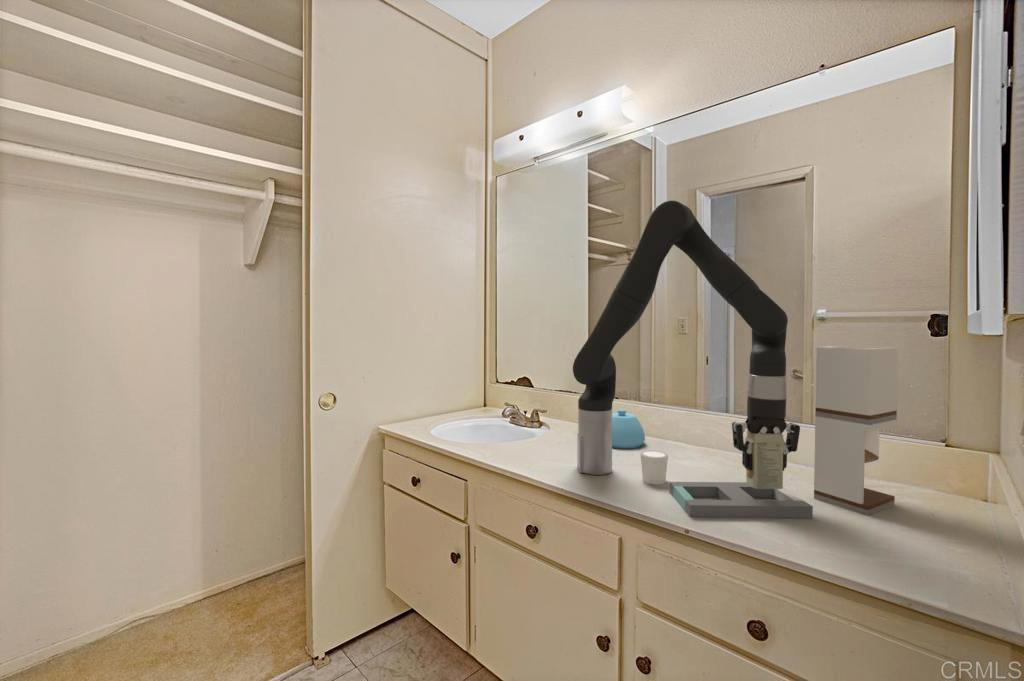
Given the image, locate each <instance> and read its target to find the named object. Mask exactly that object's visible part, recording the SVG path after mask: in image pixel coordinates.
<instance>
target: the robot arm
mask: <svg viewBox="0 0 1024 681" xmlns="http://www.w3.org/2000/svg"><path fill="white" fill-rule="evenodd" d="M674 246H675V247H676V248H678V249H680V251H682V252H683V253H684V254H685V255H686V256H687V257H688V258H689V259H690V260H691V261H692V262H693V263H694V264H695V265H696V267H697V268H698V269H699V271H700V272H701V273H702V275H703V276H704V277H705V279H706V281H707V282H708V283H709V284H710V285H711V287H712V288H713V289H714V290H715V291H716V292H717V293H718V295H720V296H721V297H722V298H723V299H724V300H725V301H726V303H728V304H729V305H730V306H731V307H732V308H733V309H735V311H736V312H737V313H738V314H739V315H740V317H741V318H742V319H743V321H745V322H746V324H747V325H748V327H750V328H751V351H750V354H749V373H748V380H747V381H748V382H747V389H746V393H747V394H746V395H747V399H746V400H747V401H746V414H747V415H746V416H747V418H746V420H745V421H744V422H736V421H733V422H732V423H731V430H732V441H733V447H734V448H735V449H737V450H738V451H741V452H742V459H741V460H742V461H741V463H742V466H743V467H744V468H745V470H746V471H747V470H752V463H753V454H751V453H752V451H753V444H754V440H752V439H750V438H749V436H748V435H747V434H746V436H745V441H744V432H745V431H746V430H748V431H749V432H751V433H752V434H753V433H757V434H765V433H774V434H782V435H783V432H786V440H785V439H784V438H783V472H784V471H785V469H786V468H787V466H788V454H789V453H792V452H794V453H795V452H797V450H798V445H799V439H800V432H801V426H800V425H798V424H797V423H793V422H789V423H788V422H786V416H787V386H788V385H787V379H786V378H787V376H786V375H787V356H786V342H787V341H786V340H787V329H788V322H789V321H788V320H789V319H788V315H787V313H786V311H785V310H784V309H783V308H781V307H780V305H778V304H777V303H776V302H775V301H774V300H773V299H772V298H771V297H770V296H769V295H767V294H766V293H765V292H764V291H763V290H761V288H760V287H759V286H758V284H757V283H756V282H755V281H754V279H752V277H750V275H748V274H747V273H746V272H745V270H743V269H742V268H741V267H740V266H739V265H738V264H737V263H736V262H735V261H734V260H733V259H732V258H731V257H730V256H729V255H727V254H726V253H725V251H723V250H722V249H721V248H720V247H719V246H718V245H717V244H716V243H715V242H714V240H712V239H711V237H710V236H709V235H708V234H707V232H706V231H705V230H704V228H703V226H702V225H701V224H700V222H699V221H698V219H697V217H696V216H695V215H694V212H693V211H692V209H691V208H690V207H688V206H687V205H685V204H683V203H682V202H680V201H678V200H671V199H670V200H664V201H663V202H660V203H659V204H658V205H657V206H656V207H654V209H653V210H652V211H651V213H650V215H649V217H648V219H647V222H646V224H645V227H644V230H643V232H642V233H641V237H640V240H639V242H638V244H637V247H636V248H635V251H634V253H633V255H632V257H631V258H630V260H629V261H628V263H627V265H626V267H625V268H624V271H623V273H622V274H621V276H620V278H619V280H618V282H617V284H616V285H615V287H614V288H613V291H612V293H611V295H610V297H609V299H608V301H607V304H605V305H606V306H605V307H604V309H603V311H602V312H601V315H600V316H599V318H598V320H597V322H596V324H595V327H594V328H593V330H592V331H591V333H590V335H589V337H588V338H587V340H586V341H585V343H584V344H583V345H582V347H581V349H580V350H579V352H578V353H577V355H576V357H575V358H574V361H573V364H572V373H573V376H574V379H575V380H576V381H577V382H578V383H579V384H581V385H585V389H584V391H583V393H582V394H581V395H580V396H579V398H578V399H577V400H578V402H577V404H578V405H577V407H578V409H577V411H578V415H577V416H578V418H577V420H578V423H577V426H578V428H577V430H578V431H577V432H578V433H577V437H576V442H577V445H576V446H577V449H576V450H577V451H576V452H577V454H576V456H577V457H576V458H577V462H576V464H577V469H578V472H579V473H580V474H586V475H592V476H593V475H595V476H600V475H601V476H603V475H608V474H610V473H612V472H613V447H612V413H613V402H614V400H615V396H616V386H617V385H616V383H617V366H616V365H617V364H616V361H615V359H614V357H613V355H612V354H611V353H612V351H613V350H614V348H615V346H616V345H617V344H618V343H619V341H620V340H621V339H622V338H623V337H624V336H625V335H627V334H628V332H629V331H630V330H631V329H632V328H633V327H634V326H636V324H637V322H638V321H639V320H640V318H641V317H642V315H643V313H645V312H644V311H645V310H646V308H647V307H648V304H650V301H651V299H652V297H653V294H654V291H655V288H656V285H657V282H658V281H657V280H658V278H659V272H660V270H661V267H662V265H663V263H664V261H665V259H666V257H667V255H668V253H669V252H670V250H671V249H672V248H673V247H674ZM749 442H750V443H749Z"/></svg>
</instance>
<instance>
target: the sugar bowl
mask: <svg viewBox="0 0 1024 681" xmlns="http://www.w3.org/2000/svg"><path fill="white" fill-rule="evenodd" d="M616 411H617V412H612V448H615V449H623V450H625V449H636V447H637V448H639V447H641V446H640V445H643V444H644V442H645V440H646V435H645V431H644V428H643V425H642V424H641V422H640V421H639V419H638V418H637V415H635V414H633V413H629V412H628V411H627V409H622V408H620V409H617V410H616Z"/></svg>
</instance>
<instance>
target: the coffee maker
mask: <svg viewBox="0 0 1024 681" xmlns="http://www.w3.org/2000/svg"><path fill="white" fill-rule="evenodd" d="M815 361H816V363H815V365H816V366H815V368H816V369H815V371H816V372H815V418H814V420H815V422H814V423H815V424H814V467H813V468H814V472H813V473H814V474H813V477H814V480H813V499H814V500H818V501H820V502H824V503H826V504H829V505H833V506H837V507H839V508H842V509H845V510H848V511H851V512H854V513H857V514H861V515H863V516H867V517H868V516H870V515H873V514H876V513H878V512H880V511H884V510H886V509H889V508H891V507H893V506H895V503H896V502H895V499H896V497H895V496H894V495H891V494H889V493H885V492H881V491H878V490H873V489H870V488H867V487H865V464H868V463H872V462H875V461H879V459H880V458H879V457H880V456H879V455H880V430H883V429H888V428H892V427H897V418H898V416H897V414H898V412H897V411H898V381H899V380H898V375H899V347H894V346H892V347H874V348H868V347H867V348H866V347H865V348H864V347H862V348H860V347H859V348H858V347H852V348H851V347H849V345H829V346H817V347H816V360H815Z"/></svg>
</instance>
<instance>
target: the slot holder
mask: <svg viewBox="0 0 1024 681" xmlns="http://www.w3.org/2000/svg"><path fill="white" fill-rule="evenodd" d="M668 487H669V491H668V492H669V493H670V495H671V496H672V497H673V498H674V499H675V501H676V500H677V501H676V502H677V503H678V505H679V506H680V507H681V506H682V507H681V508H682V509H683V510H684V511H685V513H686V514H687V515H688V516H689V517H690V518H743V519H744V518H746V519H747V518H750V519H752V518H753V519H755V518H756V519H757V518H759V519H769V518H770V519H813V514H814V513H813V512H814V510H813V509H814V506H813V505H811V504H810V503H808V502H807V501H805V500H803V498H800V497H799V496H797V495H796V494H794V493H793V492H791V491H790V490H788V489H787V488H786V487H783V489H756V488H753V487H752V486H751V485H750V484H748V483H747V482H746V481H745V482H741V481H735V482H734V481H726V482H725V481H722V482H721V481H669V486H668ZM694 498H718V499H694ZM755 498H760V499H758V500H757V499H755ZM761 498H762V500H761ZM763 498H764V499H767V498H773V499H775V500H773V499H770V500H769V499H767V500H763Z"/></svg>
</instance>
